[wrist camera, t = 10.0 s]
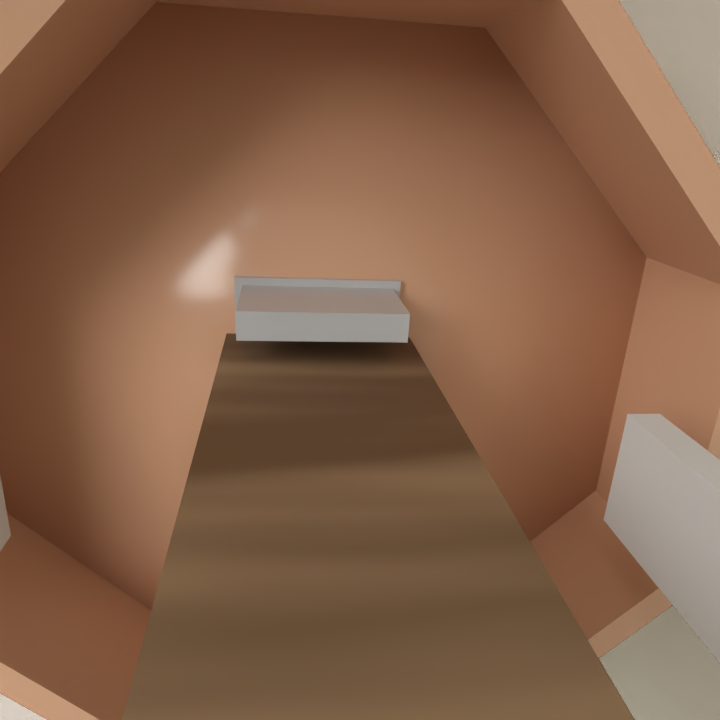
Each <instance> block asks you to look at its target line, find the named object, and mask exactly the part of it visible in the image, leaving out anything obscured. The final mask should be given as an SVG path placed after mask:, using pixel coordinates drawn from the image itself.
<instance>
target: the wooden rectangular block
mask: <svg viewBox="0 0 720 720" xmlns="http://www.w3.org/2000/svg"><path fill="white" fill-rule="evenodd" d="M122 720H634V718H633V716H632V714H631V713H630V711H629V709H628V708H627V706H626V704H625V703H624V701H623V699H622V697H621V696H620V694H619V692H618V691H617V689H616V687H615V686H614V684H613V682H612V680H611V679H610V677H609V675H608V674H607V672H606V670H605V669H604V667H603V665H602V663H601V662H600V660H599V658H598V657H597V655H596V653H595V652H594V650H593V648H592V646H591V645H590V643H589V641H588V640H587V638H586V636H585V635H584V633H583V631H582V629H581V628H580V626H579V624H578V623H577V621H576V619H575V618H574V616H573V614H572V612H571V611H570V609H569V607H568V606H567V604H566V602H565V601H564V599H563V597H562V595H561V594H560V592H559V590H558V589H557V587H556V585H555V584H554V582H553V580H552V578H551V577H550V575H549V573H548V572H547V570H546V568H545V567H544V565H543V563H542V562H541V560H540V558H539V556H538V555H537V553H536V551H535V550H534V548H533V546H532V545H531V543H530V541H529V539H528V538H527V536H526V534H525V533H524V531H523V529H522V528H521V526H520V524H519V522H518V521H517V519H516V517H515V516H514V514H513V512H512V511H511V509H510V507H509V505H508V504H507V502H506V500H505V499H504V497H503V495H502V494H501V492H500V490H499V488H498V487H497V485H496V483H495V482H494V480H493V478H492V477H491V475H490V473H489V471H488V470H487V468H486V466H485V465H484V463H483V461H482V460H481V458H480V456H479V454H478V453H477V451H476V449H475V448H474V446H473V444H472V443H471V441H470V439H469V437H468V436H467V434H466V432H465V431H464V429H463V427H462V426H461V424H460V422H459V420H458V419H457V417H456V415H455V414H454V412H453V410H452V409H451V407H450V405H449V403H448V402H447V400H446V398H445V397H444V395H443V393H442V392H441V390H440V388H439V386H438V385H437V383H436V381H435V380H434V378H433V376H432V375H431V373H430V371H429V369H428V368H427V366H426V364H425V363H424V361H423V359H422V358H421V356H420V354H419V352H418V351H417V349H416V347H415V346H414V344H413V342H412V341H411V339H410V337H408V343H403V342H314V341H236V334H232V333H227V334H226V337H225V341H224V345H223V348H222V352H221V356H220V359H219V363H218V367H217V371H216V374H215V378H214V382H213V385H212V389H211V393H210V396H209V400H208V404H207V407H206V411H205V415H204V418H203V422H202V426H201V429H200V433H199V437H198V440H197V444H196V448H195V452H194V455H193V459H192V463H191V466H190V470H189V474H188V477H187V481H186V485H185V488H184V492H183V496H182V499H181V503H180V507H179V510H178V514H177V518H176V521H175V525H174V529H173V532H172V536H171V540H170V544H169V547H168V551H167V555H166V558H165V562H164V566H163V569H162V573H161V577H160V580H159V584H158V588H157V591H156V595H155V599H154V602H153V606H152V610H151V613H150V617H149V621H148V624H147V628H146V632H145V636H144V639H143V643H142V647H141V650H140V654H139V658H138V661H137V665H136V669H135V672H134V676H133V680H132V683H131V687H130V691H129V694H128V698H127V702H126V705H125V709H124V713H123V716H122Z"/></svg>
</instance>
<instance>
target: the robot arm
mask: <svg viewBox="0 0 720 720" xmlns="http://www.w3.org/2000/svg"><path fill="white" fill-rule="evenodd" d="M604 521H605V522H606V523H607V525H608V526H609V527H610V528H611V530H612V531H613V532H614V533H615V535H616V536H617V537H618V538H619V540H620V541H621V542H622V543H623V544H624V546H625V547H626V548H627V549H628V551H629V552H630V553H631V554H632V556H633V557H634V558H635V559H636V561H637V562H638V563H639V564H640V566H641V567H642V568H643V569H644V570H645V572H646V573H647V574H648V575H649V577H650V578H651V579H652V580H653V582H654V583H655V584H656V585H657V587H658V588H659V589H660V590H661V592H662V593H663V594H664V595H665V597H666V598H667V599H668V600H669V601H670V603H671V604H672V605H673V606H674V608H675V609H676V610H677V611H678V613H679V614H680V615H681V616H682V618H683V619H684V620H685V621H686V623H687V624H688V625H689V626H690V627H691V629H692V630H693V631H694V632H695V634H696V635H697V636H698V637H699V639H700V640H701V641H702V642H703V644H704V645H705V646H706V647H707V649H708V650H709V651H710V652H711V654H712V655H713V656H714V657H715V658H716V660H717V661H718V662H719V663H720V460H719V459H718V458H717V457H715V456H714V455H713V454H711V453H710V452H709V451H707V450H706V449H705V448H704V447H702V446H701V445H700V444H698V443H697V442H696V441H695V440H693V439H692V438H691V437H689V436H688V435H687V434H685V433H684V432H683V431H682V430H680V429H679V428H678V427H676V426H675V425H674V424H672V423H671V422H670V421H669V420H667V419H666V418H665V417H663V416H662V415H661V414H627V418H626V423H625V427H624V431H623V436H622V440H621V445H620V449H619V454H618V458H617V462H616V467H615V471H614V476H613V480H612V484H611V489H610V493H609V498H608V502H607V506H606V511H605V515H604ZM10 536H11V533H10V527H9V522H8V516H7V510H6V505H5V499H4V493H3V488H2V482H1V477H0V551H1V550H2V548H3V547H4V545H5V544H6V542H7V541H8V539H9V538H10Z"/></svg>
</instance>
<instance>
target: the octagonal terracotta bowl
mask: <svg viewBox="0 0 720 720" xmlns="http://www.w3.org/2000/svg"><path fill="white" fill-rule="evenodd" d="M227 333H232V334H236V341H314V342H403V343H408V337H410V339H411V341H412V342H413V344H414V346H415V347H416V349H417V351H418V352H419V354H420V356H421V358H422V359H423V361H424V363H425V364H426V366H427V368H428V369H429V371H430V373H431V375H432V376H433V378H434V380H435V381H436V383H437V385H438V386H439V388H440V390H441V392H442V393H443V395H444V397H445V398H446V400H447V402H448V403H449V405H450V407H451V409H452V410H453V412H454V414H455V415H456V417H457V419H458V420H459V422H460V424H461V426H462V427H463V429H464V431H465V432H466V434H467V436H468V437H469V439H470V441H471V443H472V444H473V446H474V448H475V449H476V451H477V453H478V454H479V456H480V458H481V460H482V461H483V463H484V465H485V466H486V468H487V470H488V471H489V473H490V475H491V477H492V478H493V480H494V482H495V483H496V485H497V487H498V488H499V490H500V492H501V494H502V495H503V497H504V499H505V500H506V502H507V504H508V505H509V507H510V509H511V511H512V512H513V514H514V516H515V517H516V519H517V521H518V522H519V524H520V526H521V528H522V529H523V531H524V533H525V534H526V536H527V538H528V539H529V541H530V543H531V545H532V546H533V548H534V550H535V551H536V553H537V555H538V556H539V558H540V560H541V562H542V563H543V565H544V567H545V568H546V570H547V572H548V573H549V575H550V577H551V578H552V580H553V582H554V584H555V585H556V587H557V589H558V590H559V592H560V594H561V595H562V597H563V599H564V601H565V602H566V604H567V606H568V607H569V609H570V611H571V612H572V614H573V616H574V618H575V619H576V621H577V623H578V624H579V626H580V628H581V629H582V631H583V633H584V635H585V636H586V638H587V640H588V641H589V643H590V645H591V646H592V648H593V650H594V652H595V653H596V655H597V657H598V658H600V657H602V656H603V655H604V654H606V653H607V652H608V651H610V650H611V649H613V648H614V647H615V646H617V645H618V644H620V643H621V642H622V641H624V640H625V639H626V638H628V637H629V636H631V635H632V634H633V633H635V632H636V631H638V630H639V629H640V628H642V627H643V626H644V625H646V624H647V623H649V622H650V621H651V620H653V619H654V618H656V617H657V616H658V615H660V614H661V613H662V612H664V611H665V610H667V609H668V608H669V607H671V606H672V604H671V603H670V601H669V600H668V599H667V598H666V597H665V595H664V594H663V593H662V592H661V590H660V589H659V588H658V587H657V585H656V584H655V583H654V582H653V580H652V579H651V578H650V577H649V575H648V574H647V573H646V572H645V570H644V569H643V568H642V567H641V566H640V564H639V563H638V562H637V561H636V559H635V558H634V557H633V556H632V554H631V553H630V552H629V551H628V549H627V548H626V547H625V546H624V544H623V543H622V542H621V541H620V540H619V538H618V537H617V536H616V535H615V533H614V532H613V531H612V530H611V528H610V527H609V526H608V525H607V523H606V522H605V521H604V515H605V511H606V506H607V502H608V498H609V493H610V489H611V484H612V480H613V476H614V471H615V467H616V462H617V458H618V454H619V449H620V445H621V440H622V436H623V431H624V427H625V423H626V418H627V414H661V415H662V416H663V417H665V418H666V419H667V420H669V421H670V422H671V423H672V424H674V425H675V426H676V427H678V428H679V429H680V430H682V431H683V432H684V433H685V434H687V435H688V436H689V437H691V438H692V439H693V440H695V441H696V442H697V443H698V444H700V445H701V446H702V447H704V448H705V449H706V450H707V451H709V452H710V453H711V454H713V455H714V456H715V457H717V458H718V459H719V460H720V167H719V165H718V163H717V162H716V160H715V158H714V157H713V155H712V154H711V152H710V150H709V149H708V147H707V145H706V144H705V142H704V140H703V139H702V137H701V135H700V134H699V132H698V130H697V129H696V127H695V125H694V124H693V122H692V120H691V119H690V117H689V116H688V114H687V112H686V111H685V109H684V107H683V106H682V104H681V102H680V101H679V99H678V97H677V96H676V94H675V92H674V91H673V89H672V87H671V86H670V84H669V82H668V81H667V79H666V78H665V76H664V74H663V73H662V71H661V69H660V68H659V66H658V64H657V63H656V61H655V59H654V58H653V56H652V54H651V53H650V51H649V49H648V48H647V46H646V45H645V43H644V41H643V40H642V38H641V36H640V35H639V33H638V31H637V30H636V28H635V26H634V25H633V23H632V21H631V20H630V18H629V16H628V15H627V13H626V11H625V10H624V8H623V7H622V5H621V3H620V2H619V0H0V477H1V482H2V488H3V493H4V499H5V505H6V510H7V516H8V522H9V527H10V533H11V536H10V538H9V539H8V541H7V542H6V544H5V545H4V547H3V548H2V550H1V551H0V694H2V695H4V696H6V697H7V698H9V699H11V700H13V701H15V702H16V703H18V704H20V705H22V706H24V707H25V708H27V709H29V710H31V711H32V712H34V713H36V714H38V715H40V716H41V717H43V718H45V719H47V720H122V716H123V713H124V709H125V705H126V702H127V698H128V694H129V691H130V687H131V683H132V680H133V676H134V672H135V669H136V665H137V661H138V658H139V654H140V650H141V647H142V643H143V639H144V636H145V632H146V628H147V624H148V621H149V617H150V613H151V610H152V606H153V602H154V599H155V595H156V591H157V588H158V584H159V580H160V577H161V573H162V569H163V566H164V562H165V558H166V555H167V551H168V547H169V544H170V540H171V536H172V532H173V529H174V525H175V521H176V518H177V514H178V510H179V507H180V503H181V499H182V496H183V492H184V488H185V485H186V481H187V477H188V474H189V470H190V466H191V463H192V459H193V455H194V452H195V448H196V444H197V440H198V437H199V433H200V429H201V426H202V422H203V418H204V415H205V411H206V407H207V404H208V400H209V396H210V393H211V389H212V385H213V382H214V378H215V374H216V371H217V367H218V363H219V359H220V356H221V352H222V348H223V345H224V341H225V337H226V334H227Z"/></svg>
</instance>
